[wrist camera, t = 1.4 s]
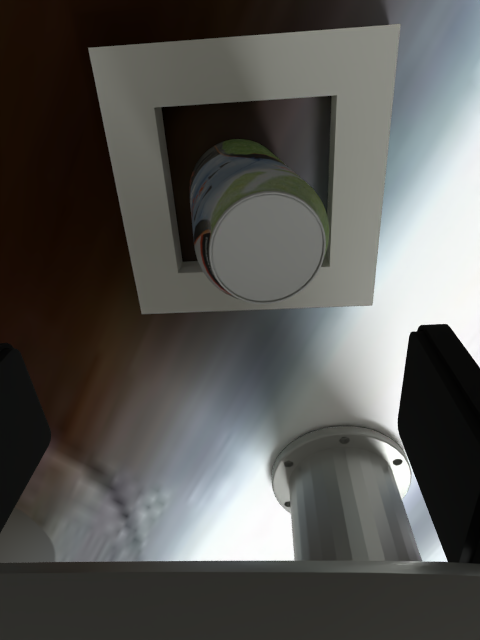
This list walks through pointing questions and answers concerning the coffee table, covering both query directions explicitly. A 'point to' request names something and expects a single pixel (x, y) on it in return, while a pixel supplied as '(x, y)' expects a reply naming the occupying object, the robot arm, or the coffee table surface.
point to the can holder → (238, 86)
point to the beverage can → (255, 223)
